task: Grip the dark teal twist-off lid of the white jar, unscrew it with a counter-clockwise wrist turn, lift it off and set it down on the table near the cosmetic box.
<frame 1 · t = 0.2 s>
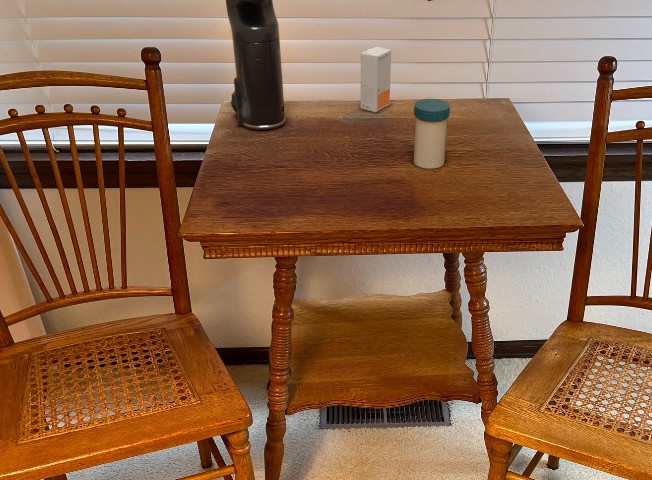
cosmetic box: (375, 108, 167), on the table
white jar: (428, 162, 145), on the table
jam lid: (432, 106, 138), point 11 cm above the table, screwed on, not yet turned
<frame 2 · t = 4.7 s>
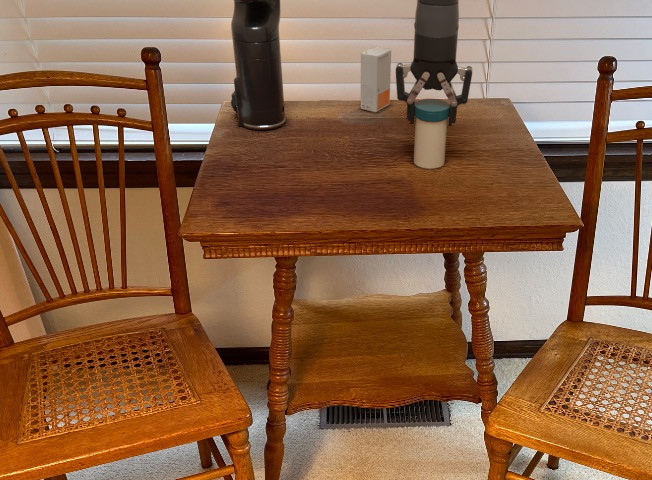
hand: (431, 123, 140), 8 cm above the table, tool pointing down, fingers closed on jam lid, 6 cm apart
jam lid: (432, 107, 138), point 11 cm above the table, screwed on, not yet turned, touching gripper
everything else where it was.
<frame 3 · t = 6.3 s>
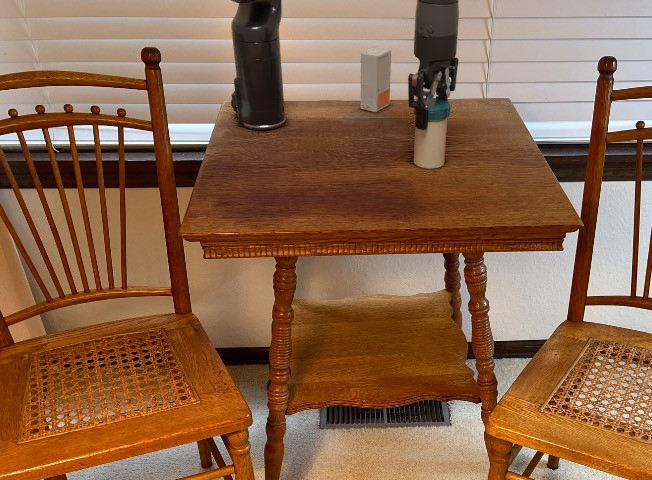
hand: (431, 122, 140), 8 cm above the table, tool pointing down, fingers closed on jam lid, 6 cm apart
jam lid: (432, 105, 138), point 11 cm above the table, turned 63° so far, risen 0.2 cm, still on its thread, touching gripper
everything else where it was.
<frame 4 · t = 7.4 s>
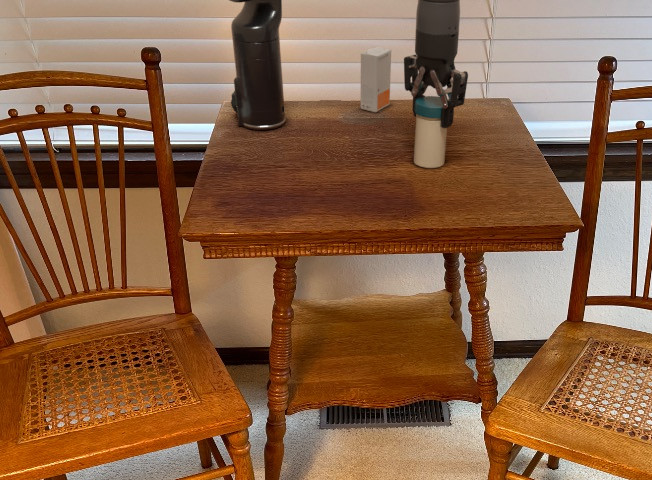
hand: (432, 121, 140), 8 cm above the table, tool pointing down, fingers closed on jam lid, 6 cm apart
jam lid: (433, 104, 138), point 11 cm above the table, turned 139° so far, risen 0.4 cm, still on its thread, touching gripper
everything else where it was.
when the fingers open (0 cm above the table, at t = 16.6 s): jam lid stays where it is, point 2 cm above the table.
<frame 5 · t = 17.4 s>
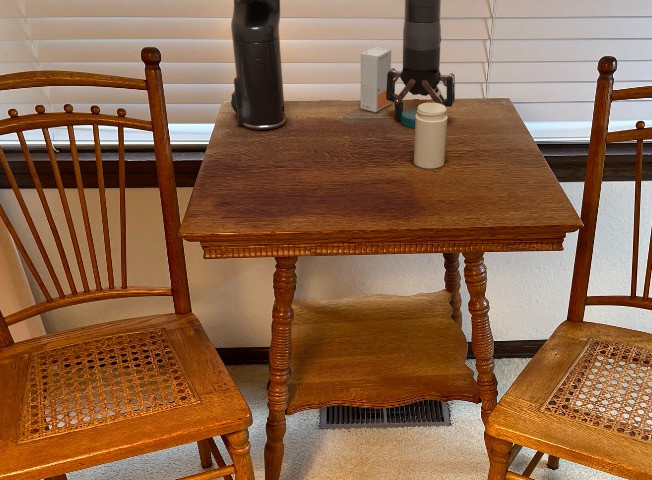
hand: (419, 122, 160), 0 cm above the table, tool pointing down, fingers open, 8 cm apart
jam lid: (416, 115, 160), point 2 cm above the table, off its thread, touching gripper
everything else where it was.
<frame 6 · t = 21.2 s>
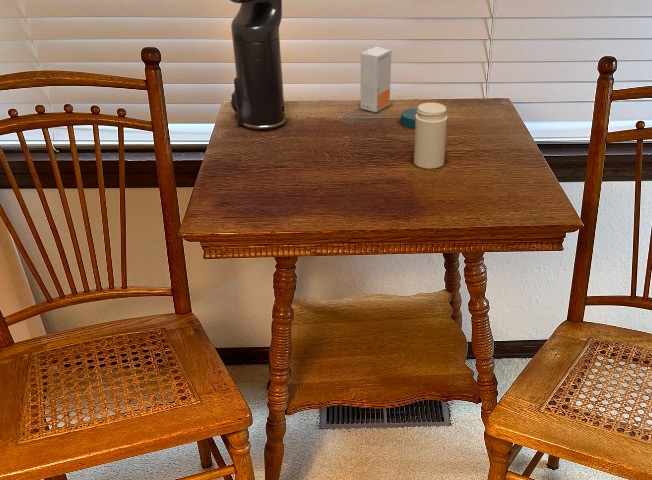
jam lid: (416, 115, 160), point 1 cm above the table, off its thread
everything else where it was.
at the end: jam lid point 1.5 cm above the table; the gripper is holding nothing; jam lid 12.3 cm from the cosmetic box (horizontally) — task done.
